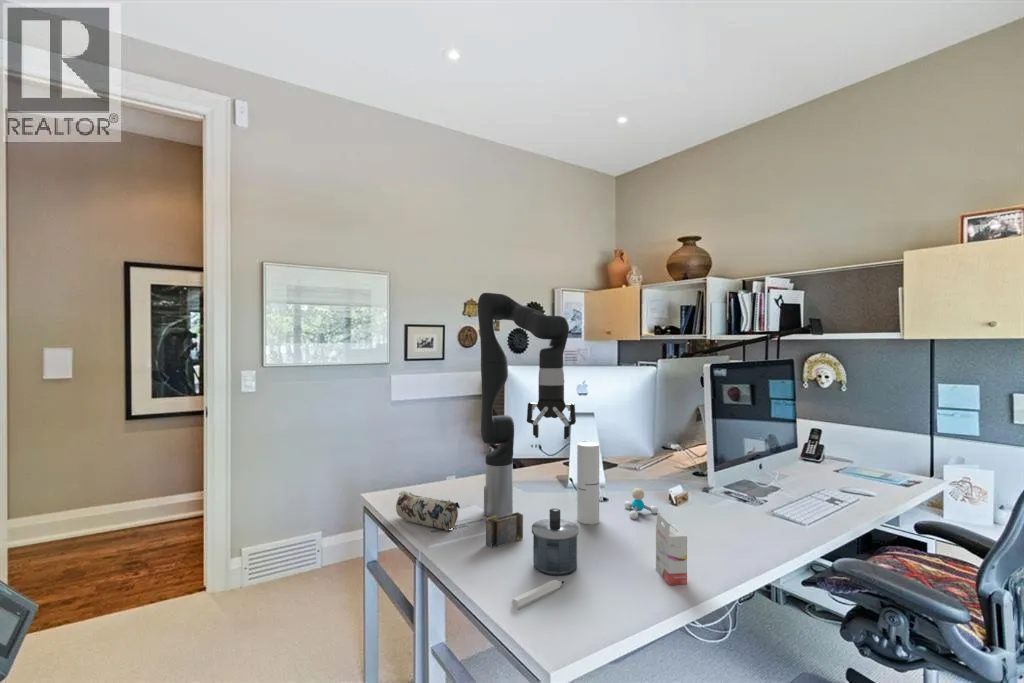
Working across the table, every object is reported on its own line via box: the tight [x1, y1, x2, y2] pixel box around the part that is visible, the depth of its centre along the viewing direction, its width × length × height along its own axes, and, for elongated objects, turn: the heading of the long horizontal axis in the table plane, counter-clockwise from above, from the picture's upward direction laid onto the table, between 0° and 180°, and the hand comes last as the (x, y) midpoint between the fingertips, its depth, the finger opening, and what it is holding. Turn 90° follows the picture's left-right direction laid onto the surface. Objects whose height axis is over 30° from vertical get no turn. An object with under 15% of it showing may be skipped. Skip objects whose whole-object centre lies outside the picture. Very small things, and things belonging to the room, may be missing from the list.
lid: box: [531, 507, 579, 541], centre depth 126 cm, size 12×12×6 cm
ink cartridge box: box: [655, 512, 688, 586], centre depth 120 cm, size 9×5×15 cm, turn 5°
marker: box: [511, 579, 565, 610], centre depth 111 cm, size 3×2×16 cm
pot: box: [532, 534, 578, 577], centre depth 126 cm, size 11×14×9 cm
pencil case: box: [395, 490, 461, 531], centre depth 155 cm, size 22×8×10 cm, turn 59°
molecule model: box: [623, 487, 659, 520], centre depth 165 cm, size 12×12×9 cm
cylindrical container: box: [576, 441, 600, 525], centre depth 158 cm, size 7×7×25 cm
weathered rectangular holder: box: [485, 511, 524, 549], centre depth 141 cm, size 11×3×10 cm, turn 125°
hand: (551, 438), depth 142 cm, fingers open, 8 cm apart
